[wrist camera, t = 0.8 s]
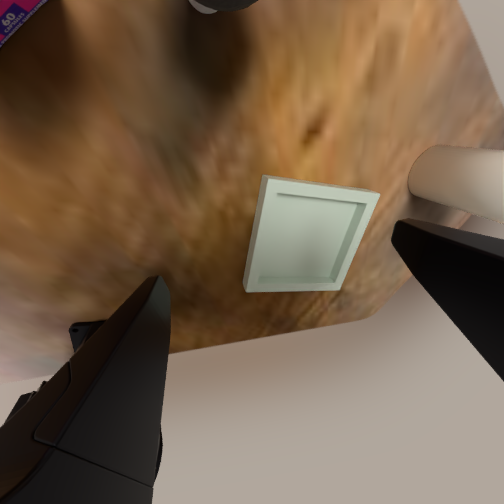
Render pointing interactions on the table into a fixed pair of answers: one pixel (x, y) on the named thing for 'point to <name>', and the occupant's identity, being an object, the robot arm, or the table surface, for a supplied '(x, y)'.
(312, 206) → the tray
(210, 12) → the light bulb
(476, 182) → the bottle
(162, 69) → the table surface
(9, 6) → the supplement box
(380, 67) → the table surface
